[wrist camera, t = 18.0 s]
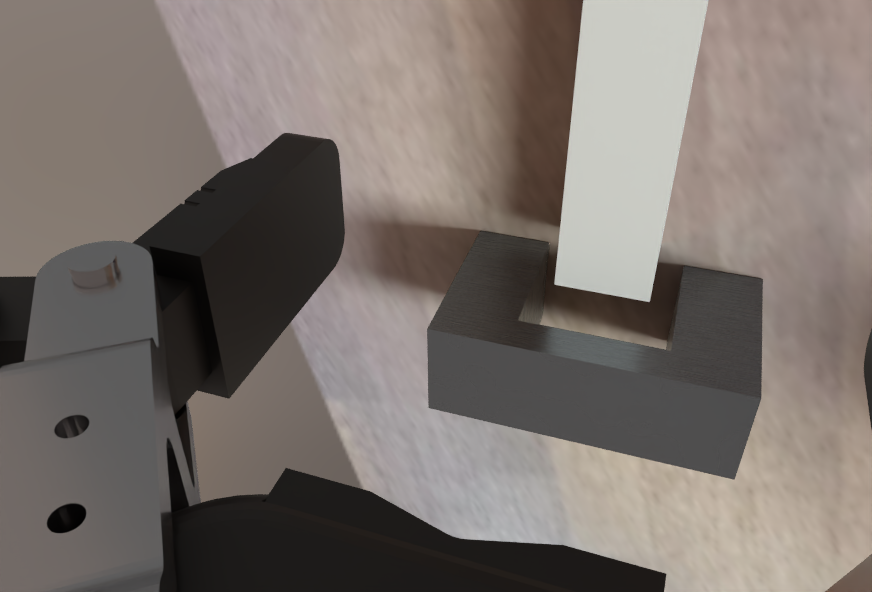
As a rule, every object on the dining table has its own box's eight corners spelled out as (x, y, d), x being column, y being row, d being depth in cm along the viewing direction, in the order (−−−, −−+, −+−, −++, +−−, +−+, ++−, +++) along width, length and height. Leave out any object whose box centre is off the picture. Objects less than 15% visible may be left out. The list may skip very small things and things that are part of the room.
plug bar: (754, -236, 22) (752, -226, 19) (661, 244, 32) (649, 302, 29) (627, -238, 23) (606, -228, 20) (574, 230, 33) (554, 284, 30)
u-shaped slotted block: (762, 279, 31) (761, 398, 26) (739, 356, 34) (734, 479, 28) (480, 230, 34) (427, 329, 29) (478, 304, 37) (428, 407, 31)
